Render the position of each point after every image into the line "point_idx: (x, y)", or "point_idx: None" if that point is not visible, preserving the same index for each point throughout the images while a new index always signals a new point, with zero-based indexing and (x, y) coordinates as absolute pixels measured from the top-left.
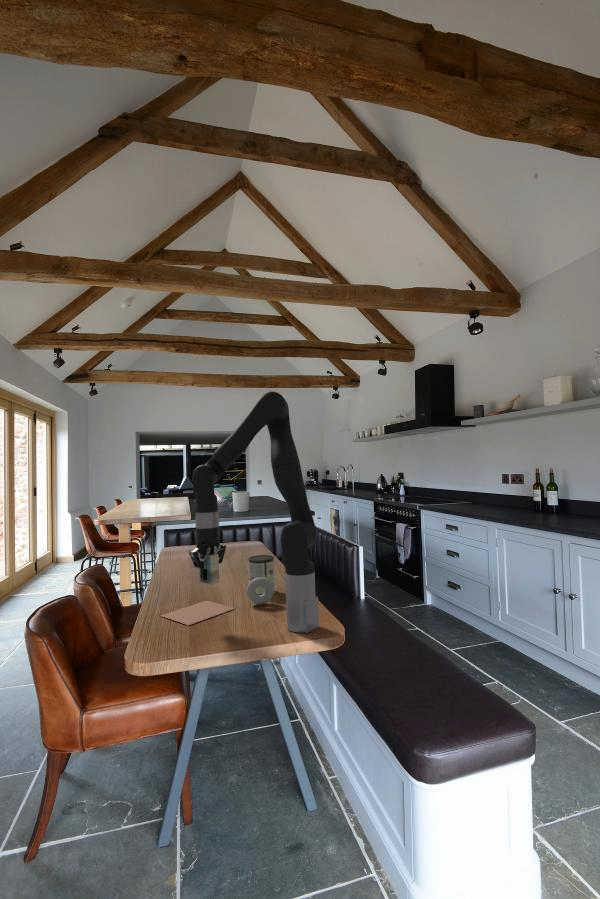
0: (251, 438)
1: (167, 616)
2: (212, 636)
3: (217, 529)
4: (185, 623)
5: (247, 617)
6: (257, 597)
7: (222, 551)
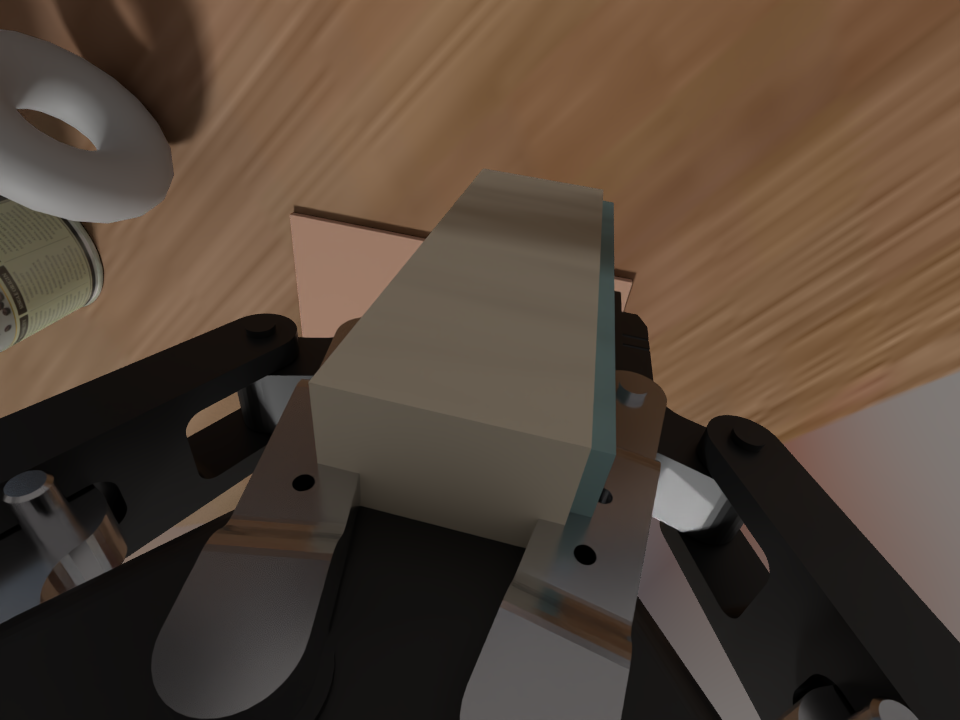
0: None
1: None
2: None
3: None
4: None
5: (337, 19)
6: (121, 124)
7: (71, 443)
